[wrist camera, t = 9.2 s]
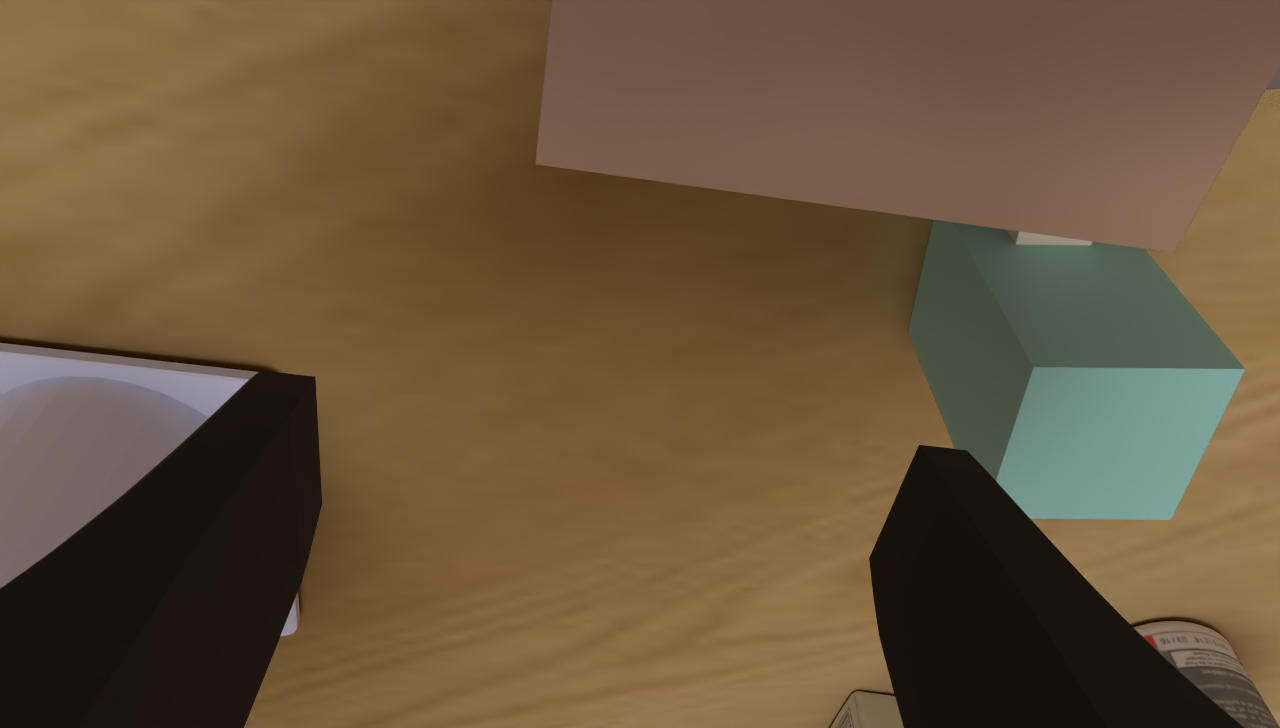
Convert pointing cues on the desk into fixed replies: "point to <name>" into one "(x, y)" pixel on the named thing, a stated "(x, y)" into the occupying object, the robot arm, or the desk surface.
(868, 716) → the box
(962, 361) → the teal toy mallet
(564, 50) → the cabinet
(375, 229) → the desk surface
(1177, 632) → the pill bottle
